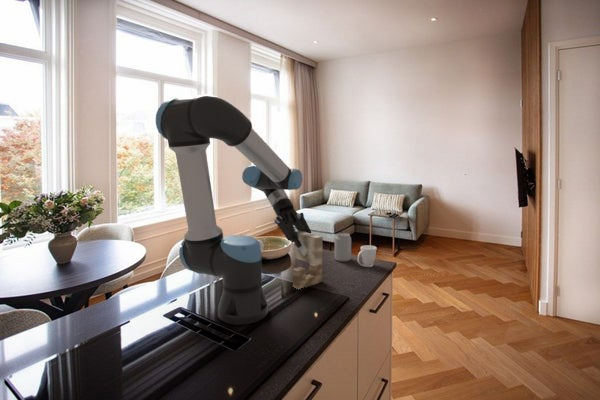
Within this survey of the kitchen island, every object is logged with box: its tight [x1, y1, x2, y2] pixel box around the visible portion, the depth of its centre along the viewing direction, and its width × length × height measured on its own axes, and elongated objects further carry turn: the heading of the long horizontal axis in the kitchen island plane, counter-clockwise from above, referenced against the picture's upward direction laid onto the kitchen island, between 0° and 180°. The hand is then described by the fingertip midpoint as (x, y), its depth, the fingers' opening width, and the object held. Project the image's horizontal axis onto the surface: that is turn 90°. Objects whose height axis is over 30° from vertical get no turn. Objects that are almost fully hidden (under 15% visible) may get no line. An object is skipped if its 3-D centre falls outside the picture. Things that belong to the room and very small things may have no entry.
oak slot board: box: [292, 263, 323, 291], centre depth 125 cm, size 12×3×7 cm, turn 131°
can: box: [334, 232, 352, 263], centre depth 153 cm, size 8×8×12 cm
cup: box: [356, 244, 378, 268], centre depth 145 cm, size 7×10×8 cm
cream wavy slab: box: [293, 230, 323, 265], centre depth 123 cm, size 12×3×10 cm, turn 41°
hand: (309, 252), depth 123 cm, fingers closed on cream wavy slab, 3 cm apart
